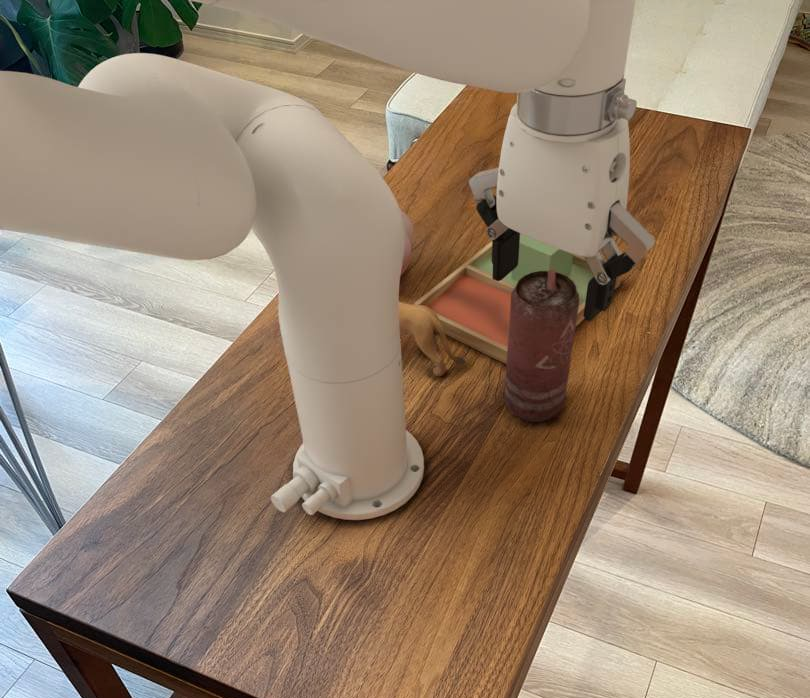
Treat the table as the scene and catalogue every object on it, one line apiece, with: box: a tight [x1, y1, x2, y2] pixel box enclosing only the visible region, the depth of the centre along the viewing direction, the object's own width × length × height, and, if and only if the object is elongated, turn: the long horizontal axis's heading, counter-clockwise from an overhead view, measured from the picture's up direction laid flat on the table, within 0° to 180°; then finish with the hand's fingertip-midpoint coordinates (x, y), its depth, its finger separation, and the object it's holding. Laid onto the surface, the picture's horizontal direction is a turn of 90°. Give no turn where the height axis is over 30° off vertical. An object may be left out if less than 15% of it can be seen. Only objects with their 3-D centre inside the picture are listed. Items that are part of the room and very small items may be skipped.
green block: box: [511, 234, 573, 281], centre depth 95 cm, size 5×5×5 cm
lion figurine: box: [399, 300, 467, 377], centre depth 87 cm, size 15×5×9 cm, turn 72°
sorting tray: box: [412, 233, 623, 365], centre depth 94 cm, size 19×16×2 cm
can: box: [503, 270, 579, 423], centre depth 80 cm, size 6×6×14 cm
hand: (549, 292), depth 75 cm, fingers open, 9 cm apart
